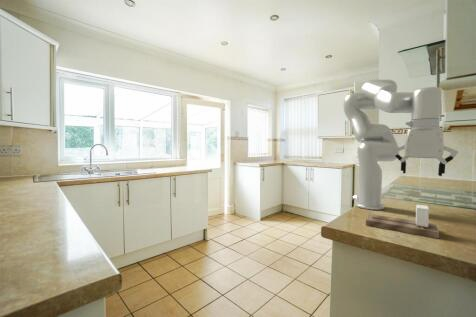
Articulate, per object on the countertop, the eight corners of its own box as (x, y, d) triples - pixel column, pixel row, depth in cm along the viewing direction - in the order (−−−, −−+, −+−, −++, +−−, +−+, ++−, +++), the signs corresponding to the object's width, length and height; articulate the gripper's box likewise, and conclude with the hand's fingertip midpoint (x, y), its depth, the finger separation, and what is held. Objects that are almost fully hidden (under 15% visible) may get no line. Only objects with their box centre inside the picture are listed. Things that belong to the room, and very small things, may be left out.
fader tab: (416, 225, 74) (416, 207, 74) (415, 221, 78) (416, 204, 78) (428, 227, 72) (428, 209, 72) (426, 223, 76) (427, 205, 76)
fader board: (365, 225, 81) (366, 219, 81) (369, 218, 88) (369, 213, 88) (438, 238, 69) (439, 232, 69) (435, 230, 76) (435, 224, 76)
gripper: (393, 125, 78) (390, 173, 79) (462, 123, 67) (457, 178, 69) (394, 126, 84) (392, 171, 85) (458, 124, 73) (454, 175, 75)
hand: (421, 174), depth 77 cm, fingers open, 9 cm apart
